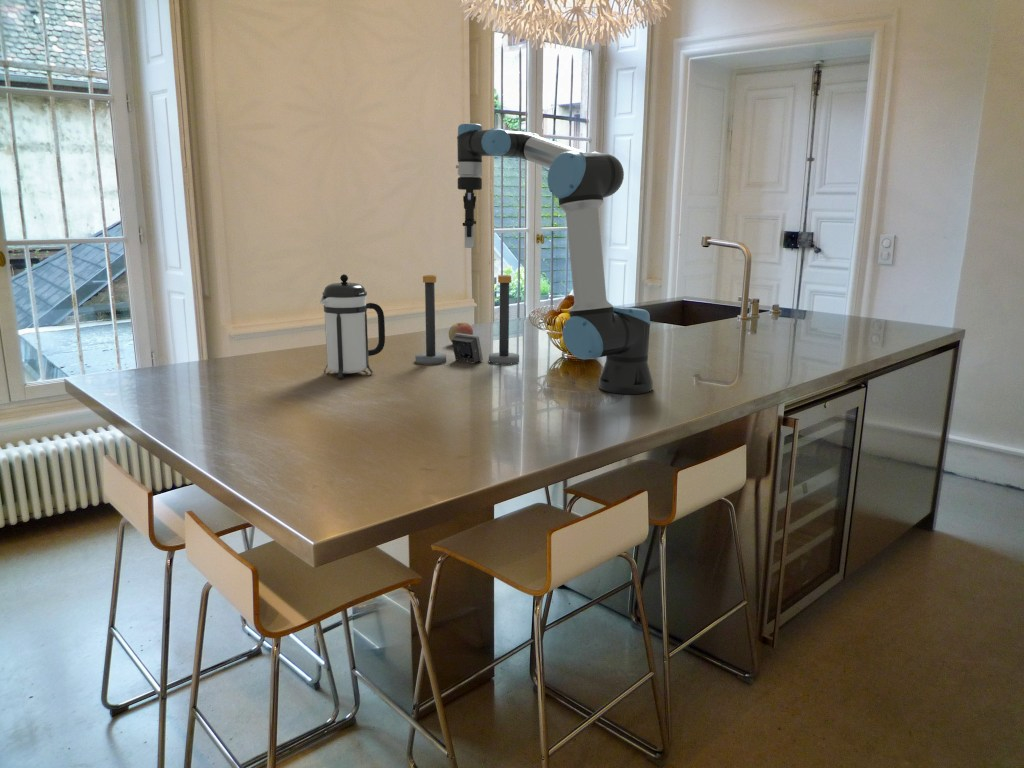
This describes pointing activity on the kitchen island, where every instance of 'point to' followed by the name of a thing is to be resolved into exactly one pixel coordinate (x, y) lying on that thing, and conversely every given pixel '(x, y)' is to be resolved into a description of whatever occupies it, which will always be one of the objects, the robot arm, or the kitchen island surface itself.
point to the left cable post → (430, 326)
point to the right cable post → (504, 325)
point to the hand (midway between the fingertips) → (469, 246)
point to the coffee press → (349, 328)
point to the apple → (460, 330)
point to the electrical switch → (467, 347)
